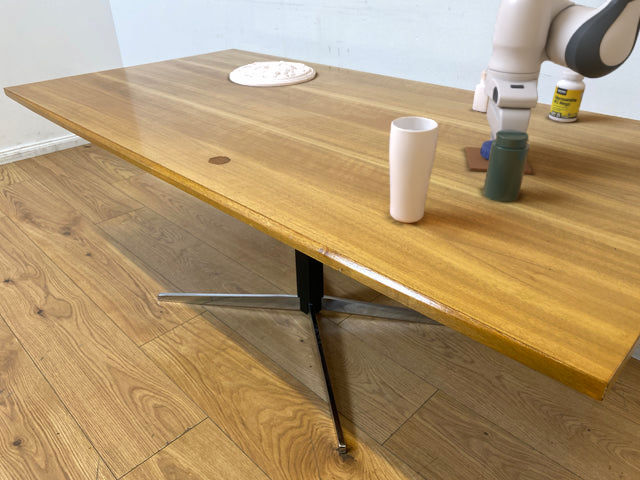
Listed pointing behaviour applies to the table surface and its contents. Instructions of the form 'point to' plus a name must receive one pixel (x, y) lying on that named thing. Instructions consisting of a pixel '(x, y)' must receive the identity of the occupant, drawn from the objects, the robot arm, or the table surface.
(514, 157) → the jar
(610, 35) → the robot arm
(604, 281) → the table surface
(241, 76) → the ceiling medallion
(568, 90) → the pill bottle
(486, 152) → the lid
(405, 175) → the drinking glass
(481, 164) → the coaster
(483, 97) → the white corked bottle
